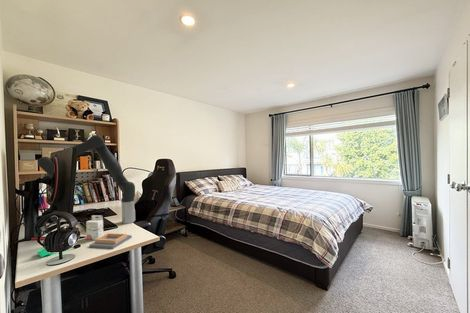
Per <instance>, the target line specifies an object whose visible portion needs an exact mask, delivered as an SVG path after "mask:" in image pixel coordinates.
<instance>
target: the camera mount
mask: <svg viewBox="0 0 470 313" xmlns="http://www.w3.org/2000/svg"><path fill="white" fill-rule="evenodd" d="M56 254H58V253H49V252H47V251H46V250H45V248H44V247H43V248H42V249H39V250H37V255H39V257H40V258H42V257H45V256H47V255H49V256H53V255H56Z"/></svg>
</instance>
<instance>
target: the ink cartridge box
mask: <svg viewBox="0 0 470 313" xmlns="http://www.w3.org/2000/svg"><path fill="white" fill-rule="evenodd" d="M85 225H86V229H85V230H86V240H91V241H92V240H93V241H95V239H97V238H99V237H101V236H103V235H104V218H103V215H102V214H101V215H100V214H99V215H97V214H96V215H95V214H93V215H91V219H90V220H87V221H86V222H85Z"/></svg>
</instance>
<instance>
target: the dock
mask: <svg viewBox="0 0 470 313" xmlns="http://www.w3.org/2000/svg"><path fill="white" fill-rule="evenodd" d="M132 237H133V236H132V234H131V235H130V234H127V233H118V232H117V233H115V232H114V233H113V232H107V233H105V234H103V236H101V237H99V238H97V239H95V240H94V242H92V243H90V244H89V248H96V249H97V248H98V249H115V248H117V247H118V246H120V245H122V244H124V243H125V242H126V241H127V242H128V241H129V240H130V239H132Z"/></svg>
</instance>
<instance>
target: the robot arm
mask: <svg viewBox="0 0 470 313" xmlns="http://www.w3.org/2000/svg"><path fill="white" fill-rule="evenodd" d="M69 148H77V149H78V155H77V156H80V154H83V153H86V152H88V151H91V150H94V151H96V152H97V154H98V156H99V158H100V160H101V162H102V163H103V166H104V167H105V169H106V170H107V171H108V173H109V174H110V176H111V177H112V178H113V179H114V181H115V182H116V184H117V187H118V188H119V190H120V191H121V192H122V197H121V223H122V224H124V225H127V224H129V225H130V224H132V223H134V222H135V221H136V209H135V197H136V186H135V183H133V181H129V180H128V179H127V177H126V176H125V175H124V173H123V169H122V166H121V164H120V162H119V161H118V159H117V158H116V157H115V156H114V154H113V152H111V151H110V150H109V148H108V147H107V145H106V142H105V140H104V138H103V137H102V136H101V135H99V134H93V135H92V136H90V137H89V139H87V140H85V141H83V142H81V143H79V144H76V145H73V146H71V147H68V148H66V149H69ZM57 153H58V152H56V153H55V154H54V156H55V157H56V156H57ZM54 156H52V157H48V156H42V157H39V158H38V160H37V165H38V167H39V168H41V170H43V171H44V172H45V173H46V174H47V175H48V176H49V178H50V179H51V178H52V177H53V174H54V163H53V162H54V161H53V158H54ZM74 188H75V195H74V196H76V197H77V198H78V199H79V200H80V201H84V200H85V197H84V195H83V191H81V189H80V188H79V187H78V186H76V187H74ZM76 201H77V200H76V198H75V197H74V203H75V202H76Z"/></svg>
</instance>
